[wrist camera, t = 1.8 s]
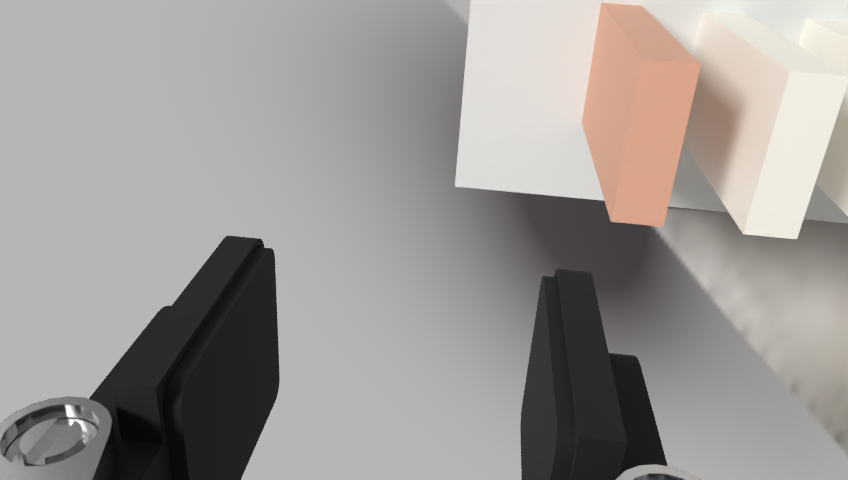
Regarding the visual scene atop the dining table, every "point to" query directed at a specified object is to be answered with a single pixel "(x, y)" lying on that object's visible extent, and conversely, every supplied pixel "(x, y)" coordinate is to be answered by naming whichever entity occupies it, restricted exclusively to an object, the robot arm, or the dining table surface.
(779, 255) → the dining table surface
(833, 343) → the dining table surface
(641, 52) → the domino
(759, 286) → the dining table surface
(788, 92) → the domino
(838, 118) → the domino
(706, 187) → the runner mat
